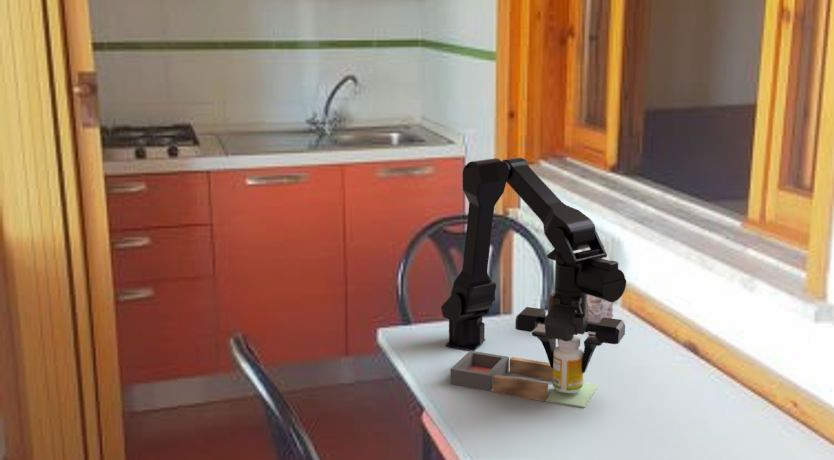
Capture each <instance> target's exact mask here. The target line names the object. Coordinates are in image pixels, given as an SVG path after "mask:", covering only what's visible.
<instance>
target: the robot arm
mask: <svg viewBox="0 0 834 460" xmlns="http://www.w3.org/2000/svg"><path fill="white" fill-rule="evenodd" d="M529 165H530V164H529V162H528V161H527V160H526V158H522V157H513V158H507V159H503V160H501V159H499V158H488V159H481V160H479V159H478V160H472V161H470V162H468V163H467V164H466V165H464V167H463V169H462V190H463V191H462V192H463V194H464V195H465V197H466V199H467V201H468V213H467V224H466V230H465V231H466V232H465V243H464V251H463V260H462V261H463V263H462V270H461V271H460V272H459V273H458V275H457V277H456V278H455V279H454V281H453V285H452V288H451V292H450V297H448V298H447V299H446V300H445V302H444V303H443V304H442V305H441V307H440V308H441V314H442V317H443V318H445V319H447V320H448V341H447V342H445V347H447V348H448V347H449V348H455V349H461V350H467V351H475V350H477V349H478V348H479V347H481V345H482V344H483V343H484V342H486V338H485V325H486V324H485V322H483V316H488V315H489V314H490V310H491V307H492V306H493V303H494V302H495V301H496V296H495V295H496V294H495V293H496V288H497V284H496V282H494V281H493V280H492V279H491V278H490V275H489V273H488V266H489V260H490V259H489V258H490V248H491V243H492V242H491V240H492V230H493V222H494V214H495V206H496V205H497V203H498V201H499V200H500V199H501V197H502V196H503V194H504V192H505V189H506V184H508V186H509V187H511V189H512V190H513V191H514V192H515V193H516V194H517V195H518V197H519V198H520V199H521V200H522V201H523V202H524V203H525V204H526V206H528V208H530V210H531V211H532V212H533V213H534V215H536V217H538V219H539V220H540V221H541V223H542V226H543V234H544V236H546V239H547V240H548V241H549V243H550V244H551V246H552V248H553V250H552V251H550V252H548V254H547V255H546V258H547V259H549V260H552V261H554V262H555V263H554V267H555V269H554V270H555V271H554V292H555V294H554V295H553V300H552V305H551V308H550V310H549V312H548V311H547V314H546V310H545V309H544V308H540V307H539V308H537V307H529V306H527V307H525V308H524V309H522V310H521V312H519V313H518V314H517V315H516V317H515V322H514V323H515V326H514V327H515V328H514V329H515V330H516V331H522V332H528V333H531V336H532V337H536V338H537V339H538V340H539V341H540V343H542V346H543V349H544V350H545V351H544V352H545V355H546V357H547V359H548V363H550V366H551V368H553V358H554V350H555V348H556V347H557V341H556V340H558V339H559V340H563V341H571V340H572V339H573V336H574V335H577V336H578V335H584V334H585V333H587V337H586V339H584V341H583V346H584V349H583V352H584V355H583V362H582V373H583V374H585V372H586V371H587V369H588V367H589V364H590V362H591V359H592V357H593V355H594V352H595V349H596V348H597V347H599V346H602V345H603V344H610V345H618V344H620V341H621V340H622V339H623V338H624V336H625V334H626V323H625V321H624V320H622V319H618V318H613V317H612V318H605V317H603V318H602V320H601V321H600V322H599V323H595V322H588V321H587V296H588V295H591V296H594V297H597V298H599V299H602V300H605V301H608V302H613V303H615V302H617V301H618V300H619V299H621V297H622V296H623V295H624V293H625V290H626V286H627V279H626V275H625V273H624V271H622V270H620V269H619V262H618V261H615V260H608V259H605V258H607V257H608V255H607V254H608V253H607V252H606V250H605V246H604V244H603V243H602V241H601V238H600V236H599V235H598V232H597V230H596V225H595V223H594V222H593V220H592V219H591V218H590V217H588V216H587V215H586V214H584V213H583V212H582V211H581V210H579V209H577V208H574V207H572V206H569V205H567V204H565V203H564V202H562V201H561V199H560V198H559V197H558V196H557V195H556V194H555V193H554V191H552V190H551V188H549V186H547V184H546V183H545V182H544V181H543V180H542V179H541V178H540V177H539V176H538V175H537V173H535V171H534V170H533V169H532V168H531V167H530V166H529ZM588 248H589V249H588ZM584 249H587V250H584ZM581 250H583V251H581ZM575 251H579V252H575Z"/></svg>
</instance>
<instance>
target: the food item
mask: <svg viewBox="0 0 834 460" xmlns="http://www.w3.org/2000/svg"><path fill="white" fill-rule="evenodd" d="M554 294H555V291H552V292H551V293H550V295H549V301H548V304H547V305H548V309H547V313H548V312H549V310H550V308H551V305H552V300H553V295H554ZM613 312H614V302H608V301H605V300H602V299H599V298H597V297H594V296H591V295H588V296H587V321H588V322H595V323H599V322H600V321H601V320H602V318H603V317H605V318H612V319H613V317H614V314H613Z"/></svg>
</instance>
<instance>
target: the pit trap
mask: <svg viewBox="0 0 834 460" xmlns="http://www.w3.org/2000/svg"><path fill="white" fill-rule="evenodd" d="M449 370H450V371H449V372H450V373H449V374H450V376H449V377H450V379H449V382H450V385H455V386H460V387H465V388H471V389H472V388H473V389H476V390H477V389H478V390H482V391H483V390H484V391H487V392H488V391H489V392H492V391H493V376H494V375H495V374H496V375H502V376H506V375H507V374H508V373H510V356H506V355H500V354H493V353H488V352H487V353H486V352H481V351H475V350H468V352H466V354H464V356H462V357H461V359H459V360H458V361H457V362H456V363H455V364H454V365H453V366H452V367H451V368H450V369H449Z"/></svg>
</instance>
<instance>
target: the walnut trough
mask: <svg viewBox="0 0 834 460" xmlns="http://www.w3.org/2000/svg"><path fill="white" fill-rule="evenodd" d="M509 375H515V376H522V377H527V378H532V379H538V380H539V379H540V380H544V381H545V380H546V381H551V382H553V368H551V366H550V363H549V362H546V361H541V360H533V359H526V358H521V357H514V356H511V357H509ZM492 393H497V394H502V395H507V396H512V397H519V398H523V399H524V398H525V399H529V400H536V401H540V402H541V401H542V402H547V401H546V399H547V397H548V396H549V394H548V393H549V383H548V382H542V381H537V380H529V379H524V378H519V377H512V376H506V375H505V376H502V375H496V374H495V375H494V376H493V389H492Z"/></svg>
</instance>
